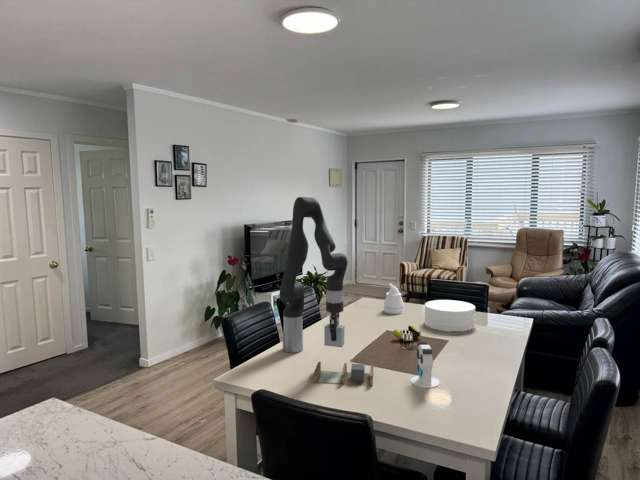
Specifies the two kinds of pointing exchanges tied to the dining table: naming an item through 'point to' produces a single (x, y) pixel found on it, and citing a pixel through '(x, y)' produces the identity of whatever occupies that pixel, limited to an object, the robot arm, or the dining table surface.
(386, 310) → the honey pot
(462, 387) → the dining table surface
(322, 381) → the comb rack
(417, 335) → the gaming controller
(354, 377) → the cord plug
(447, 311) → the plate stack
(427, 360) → the panda figurine
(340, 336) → the medicine box
